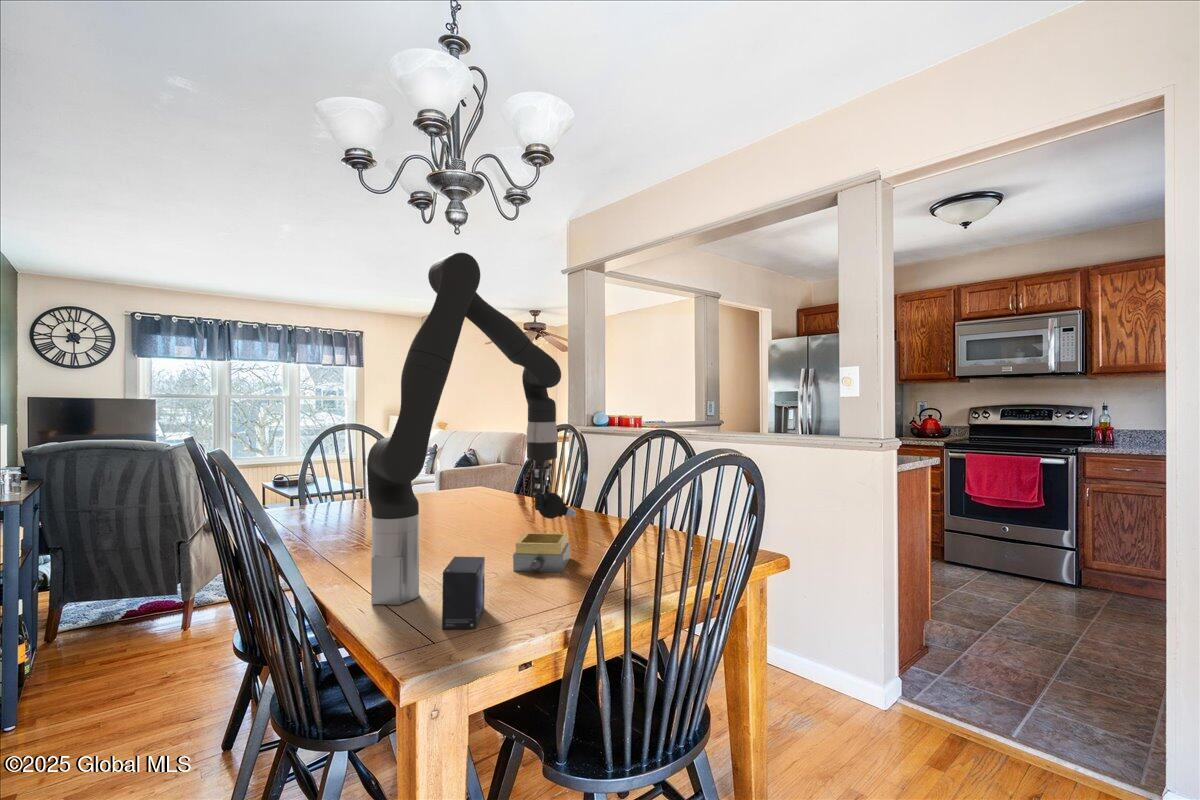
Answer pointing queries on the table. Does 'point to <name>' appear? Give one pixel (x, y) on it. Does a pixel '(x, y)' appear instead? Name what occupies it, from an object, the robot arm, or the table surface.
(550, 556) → the tan and grey block
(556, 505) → the light bulb
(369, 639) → the table surface
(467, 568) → the small box
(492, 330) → the robot arm
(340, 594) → the table surface
